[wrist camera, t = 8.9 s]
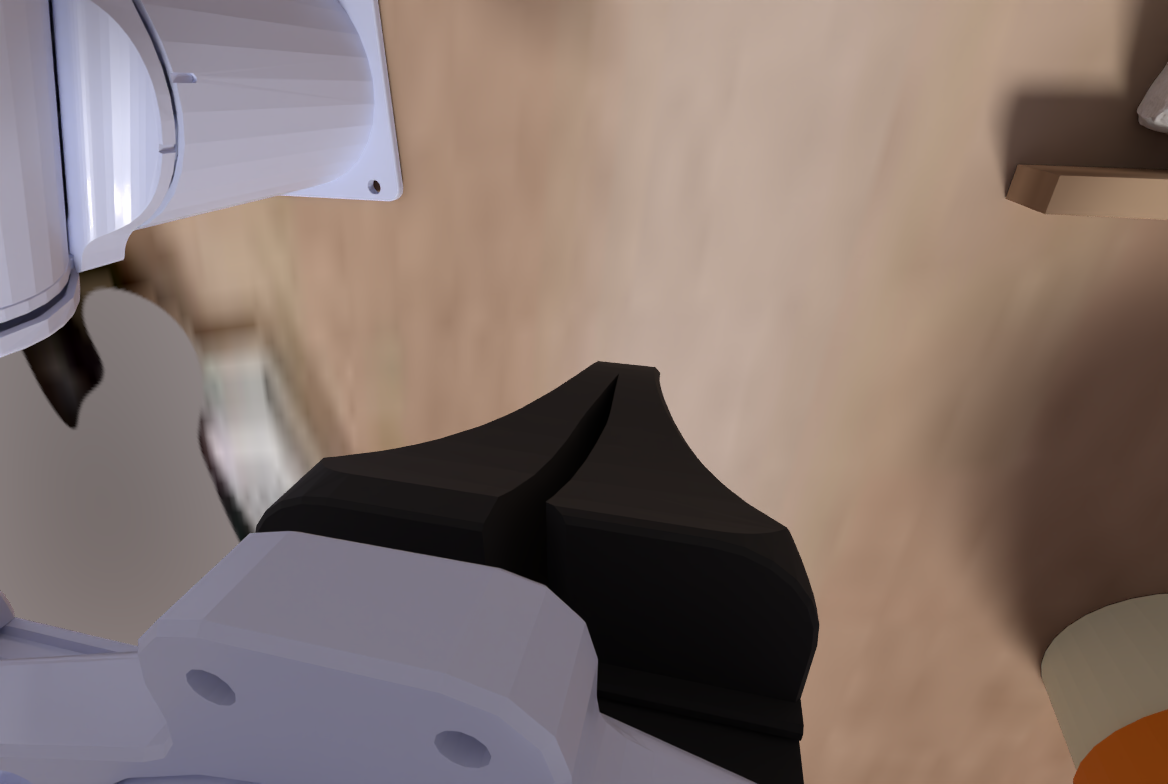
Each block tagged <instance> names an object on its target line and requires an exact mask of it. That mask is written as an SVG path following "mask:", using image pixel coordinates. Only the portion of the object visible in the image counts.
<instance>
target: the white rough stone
mask: <svg viewBox="0 0 1168 784" xmlns="http://www.w3.org/2000/svg"><path fill="white" fill-rule="evenodd" d="M1137 113H1138V115H1139V119H1138V121H1139V123H1140V125H1142V126H1145V127H1147V128H1148V129H1151V130H1154V131H1158V132H1163V133H1168V62H1167V64H1166V66H1165V67H1164V69H1163V70H1162V72H1161V73H1160V74H1159V75H1158V76H1157V78H1156V79H1155V81H1154V82H1153V83H1152V85H1151V86H1150V88H1149V90H1148V91H1147V93H1146V95H1145V96H1144V98H1143V100H1142V102H1141V103H1140V105H1139V107H1138V108H1137Z"/></svg>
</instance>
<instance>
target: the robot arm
mask: <svg viewBox="0 0 1168 784" xmlns="http://www.w3.org/2000/svg"><path fill="white" fill-rule="evenodd" d="M374 180H376V181H377V182H378V183H379V184H380V187H381V190H380V192H377V191H376V190H375V188H374V186H373V183H374ZM402 193H403V183H402V175H401V168H400V160H399V153H398V146H397V138H396V131H395V123H394V116H393V108H392V101H391V94H390V86H389V79H388V71H387V64H386V56H385V49H384V42H383V34H382V27H381V19H380V12H379V5H378V0H0V357H3V356H6V355H9V354H11V353H14V352H17V351H20V350H22V349H25V348H27V347H29V346H31V345H33V344H35V343H37V342H39V341H41V340H43V339H45V338H47V337H49V336H50V335H52V334H53V333H54V332H56V331H57V330H59V329H60V328H61V327H63V326H64V325H65V324H66V323H67V321H68V320H69V319H70V318H71V317H72V316H73V315H74V312H75V310H76V308H77V306H78V303H79V300H80V282H79V274H78V273H79V272H82V271H86V270H89V269H93V268H96V267H100V266H103V265H107V264H110V263H114V262H117V261H121V260H123V259H124V255H125V245H126V242H127V240H128V238H129V236H130V234H131V233H132V232H133V231H134V230H138V229H142V228H146V227H150V226H154V225H158V224H163V223H167V222H171V221H175V220H179V219H183V218H187V217H191V216H195V215H200V214H204V213H208V212H212V211H216V210H220V209H224V208H228V207H232V206H237V205H241V204H245V203H249V202H253V201H257V200H261V199H265V198H270V197H274V196H278V195H283V196H302V197H320V198H338V199H356V200H375V201H393V200H396V199H398V198H399V197H401V195H402ZM659 379H660V372H659V371H658V370H657V369H656V368H655V367H648V366H639V365H629V364H620V363H610V362H601V361H598V362H596V363H594V364H592V365H591V366H589V367H588V368H586V369H585V370H583V371H582V372H580V373H579V374H577V375H576V376H574V377H573V378H571V379H570V380H568V381H567V382H565V383H564V384H562V385H561V386H559V387H558V388H556V389H554V390H553V391H551V392H550V393H548V394H546V395H544V396H542V397H541V398H539V399H537V400H535V401H533V402H532V403H530V404H528V405H526V406H525V407H523V408H521V409H519V410H517V411H515V412H513V413H510V414H508V415H506V416H504V417H501V418H499V419H497V420H494V421H492V422H489V423H487V424H484V425H482V426H479V427H476V428H473V429H470V430H466V431H463V432H460V433H457V434H454V435H451V436H447V437H444V438H441V439H437V440H433V441H429V442H425V443H420V444H416V445H411V446H406V447H401V448H396V449H390V450H384V451H378V452H370V453H362V454H354V455H346V456H338V457H327V458H323V459H322V460H321V461H320V462H319V463H317V464H316V465H315V466H314V467H313V468H312V469H311V470H310V471H309V472H308V473H307V474H305V475H304V476H303V477H302V478H301V479H300V480H299V481H298V482H297V483H296V484H295V485H293V486H292V487H291V488H290V489H289V490H288V491H287V492H286V493H285V494H284V495H283V496H282V497H280V498H279V499H278V500H277V501H276V502H275V503H274V504H273V505H272V506H271V507H270V508H268V509H267V510H266V511H265V513H264V515H263V516H262V518H261V519H260V521H259V523H258V524H257V526H256V533H250V534H249V535H248V536H247V537H245V538H244V539H243V540H242V541H241V542H240V543H239V544H238V545H237V546H236V547H235V548H234V549H233V550H232V551H231V552H229V553H228V554H227V555H226V556H225V557H224V558H223V559H222V560H221V561H220V562H219V563H218V564H217V565H215V567H213V568H212V569H211V570H210V571H209V572H208V573H207V574H206V575H205V576H204V577H203V578H202V579H201V580H200V581H198V582H197V583H196V584H195V585H194V586H193V587H192V588H191V589H190V590H189V591H188V592H187V593H186V594H185V595H183V597H181V598H180V599H179V600H178V601H177V602H176V603H175V604H174V605H173V606H172V607H171V608H169V610H167V611H166V612H165V613H164V614H163V615H162V616H161V617H160V618H159V619H158V620H157V621H156V622H155V623H154V624H153V625H152V626H151V627H150V628H149V629H148V630H147V631H146V632H145V633H144V634H143V635H142V636H141V637H140V638H139V639H138V646H135V645H131V644H127V643H122V642H119V641H114V640H110V639H106V638H102V637H97V636H93V635H89V634H85V633H81V632H76V631H72V630H67V629H63V628H59V627H55V626H51V625H47V624H42V623H38V622H34V621H30V620H25V619H21V618H17V617H14V610H13V608H12V606H11V604H10V602H9V601H8V599H7V598H6V596H5V595H4V594H3V592H1V590H0V784H804V780H803V772H802V763H801V754H800V745H799V740H800V741H801V739H802V736H803V727H804V724H803V716H802V708H801V700H800V698H801V695H802V692H803V689H804V686H805V682H806V679H807V676H808V673H809V670H810V666H811V663H812V660H813V657H814V654H815V651H816V647H817V642H818V632H819V620H818V614H817V607H816V603H815V599H814V595H813V592H812V588H811V585H810V582H809V579H808V576H807V573H806V571H805V568H804V565H803V562H802V559H801V557H800V555H799V552H798V550H797V547H796V545H795V543H794V540H793V538H792V536H791V534H790V532H789V530H788V529H787V527H785V526H783V525H782V524H780V523H778V522H777V521H775V520H774V519H772V518H770V517H769V516H767V515H765V514H764V513H762V512H760V511H759V510H757V509H756V508H754V507H752V506H751V505H749V504H748V503H746V502H745V501H744V500H742V499H741V498H740V497H738V496H737V495H736V494H735V493H733V492H732V491H731V490H729V489H728V488H727V487H726V486H725V485H723V484H722V483H721V482H720V481H719V480H718V479H717V478H716V477H715V476H714V475H713V474H712V473H711V472H710V471H709V470H708V469H707V468H706V467H705V466H704V465H703V464H702V463H701V462H700V460H699V459H698V458H697V457H696V455H695V454H694V453H693V451H692V450H691V449H690V447H689V446H688V444H687V443H686V441H685V440H684V438H683V437H682V435H681V433H680V432H679V430H678V428H677V426H676V424H675V423H674V421H673V418H672V416H671V414H670V412H669V410H668V407H667V405H666V402H665V400H664V397H663V394H662V390H661V387H660V382H659Z"/></svg>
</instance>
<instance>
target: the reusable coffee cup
mask: <svg viewBox="0 0 1168 784" xmlns="http://www.w3.org/2000/svg"><path fill="white" fill-rule="evenodd" d="M1041 674H1042V680H1043V682H1044V685H1045V688H1046V690H1047V693H1048V696H1049V698H1050V701H1051V704H1052V706H1053V709H1054V712H1055V714H1056V717H1057V720H1058V722H1059V725H1060V728H1061V730H1062V733H1063V736H1064V738H1065V741H1066V744H1067V746H1068V749H1069V752H1070V754H1071V757H1072V760H1073V762H1074V765H1075V768H1076V770H1077V772H1076V774H1075V776H1074V779H1073V784H1168V594H1156V595H1151V596H1145V597H1139V598H1133V599H1129V600H1126V601H1122V602H1119V603H1115V604H1112V605H1109V606H1106V607H1103V608H1101V609H1099V610H1097V611H1094V612H1092V613H1090V614H1087V615H1085V616H1084V617H1082V618H1080V619H1079V620H1077V621H1076V622H1074V623H1072V624H1071V625H1069V626H1068V627H1067V628H1065V629H1064V630H1063V631H1062V632H1061V633H1060V634H1059V635H1058V636H1057V637H1056V638H1054V640H1053V641H1052V643H1051V644H1050V646H1049V647H1048V649H1047V650H1046V652H1045V655H1044V658H1043V661H1042V664H1041Z"/></svg>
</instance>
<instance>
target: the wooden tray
mask: <svg viewBox="0 0 1168 784" xmlns="http://www.w3.org/2000/svg"><path fill="white" fill-rule="evenodd" d="M1006 199H1008V200H1010V201H1013V202H1016V203H1018V204H1021V205H1023V206H1026V207H1028V208H1031V209H1033V210H1036V211H1039V212H1041V213H1044V214H1055V215H1076V216H1097V217H1117V218H1138V219H1159V220H1168V170H1164V169H1135V168H1106V167H1077V166H1047V165H1017V168H1016V171H1015V174H1014V176H1013V179H1012V182H1011V185H1010V188H1009V191H1008V193H1007V196H1006Z"/></svg>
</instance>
